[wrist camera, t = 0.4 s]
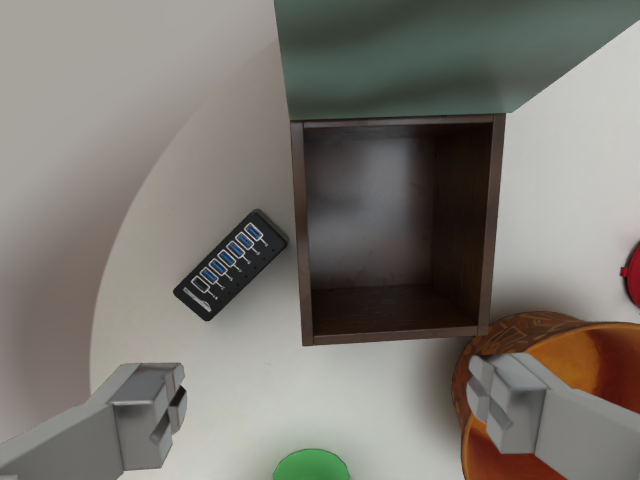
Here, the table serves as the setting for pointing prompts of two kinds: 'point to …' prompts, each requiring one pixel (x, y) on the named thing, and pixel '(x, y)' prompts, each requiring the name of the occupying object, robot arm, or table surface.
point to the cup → (311, 466)
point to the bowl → (563, 361)
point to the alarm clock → (633, 276)
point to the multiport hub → (232, 265)
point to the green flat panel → (435, 53)
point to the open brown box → (396, 225)
